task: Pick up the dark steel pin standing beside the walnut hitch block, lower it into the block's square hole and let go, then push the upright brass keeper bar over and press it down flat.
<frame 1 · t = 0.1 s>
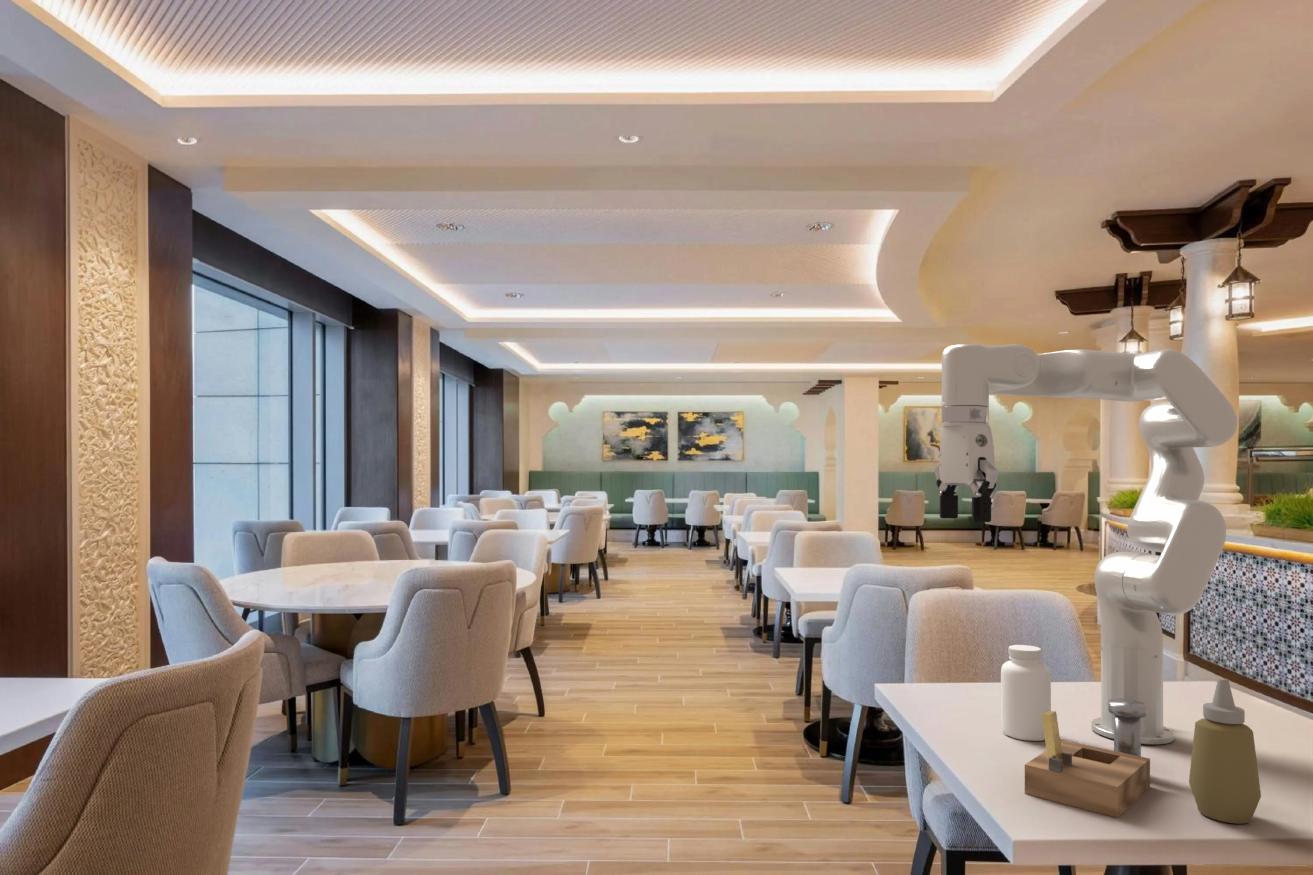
hand: (964, 519, 144), 37 cm above the table, tool pointing down, fingers open, 9 cm apart
squeeze bottle: (1224, 817, 114), on the table
hitch block: (1088, 789, 123), on the table
keeper bar: (1052, 738, 122), point 8 cm above the table, hinge at 98.0°
steel pin: (1127, 772, 131), on the table
pill bottle: (1025, 735, 149), on the table
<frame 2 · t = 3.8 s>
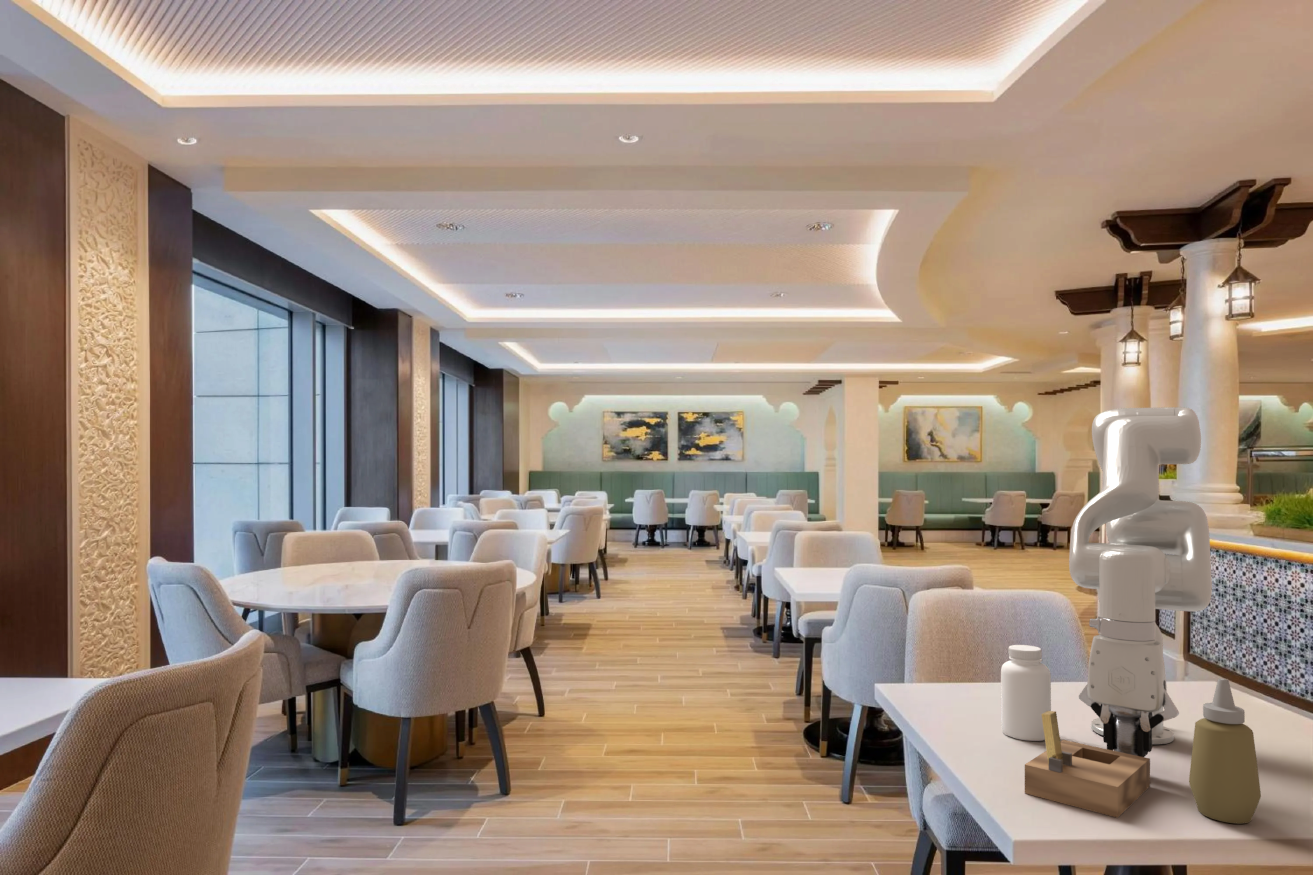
hand: (1127, 750, 131), 3 cm above the table, tool pointing down, fingers closed on steel pin, 3 cm apart
steel pin: (1127, 772, 130), on the table, touching gripper
everything else where it was.
when the fingers open (5 cm above the table, at t = 9.1 s): steel pin drops 2 cm, resting in hitch block.
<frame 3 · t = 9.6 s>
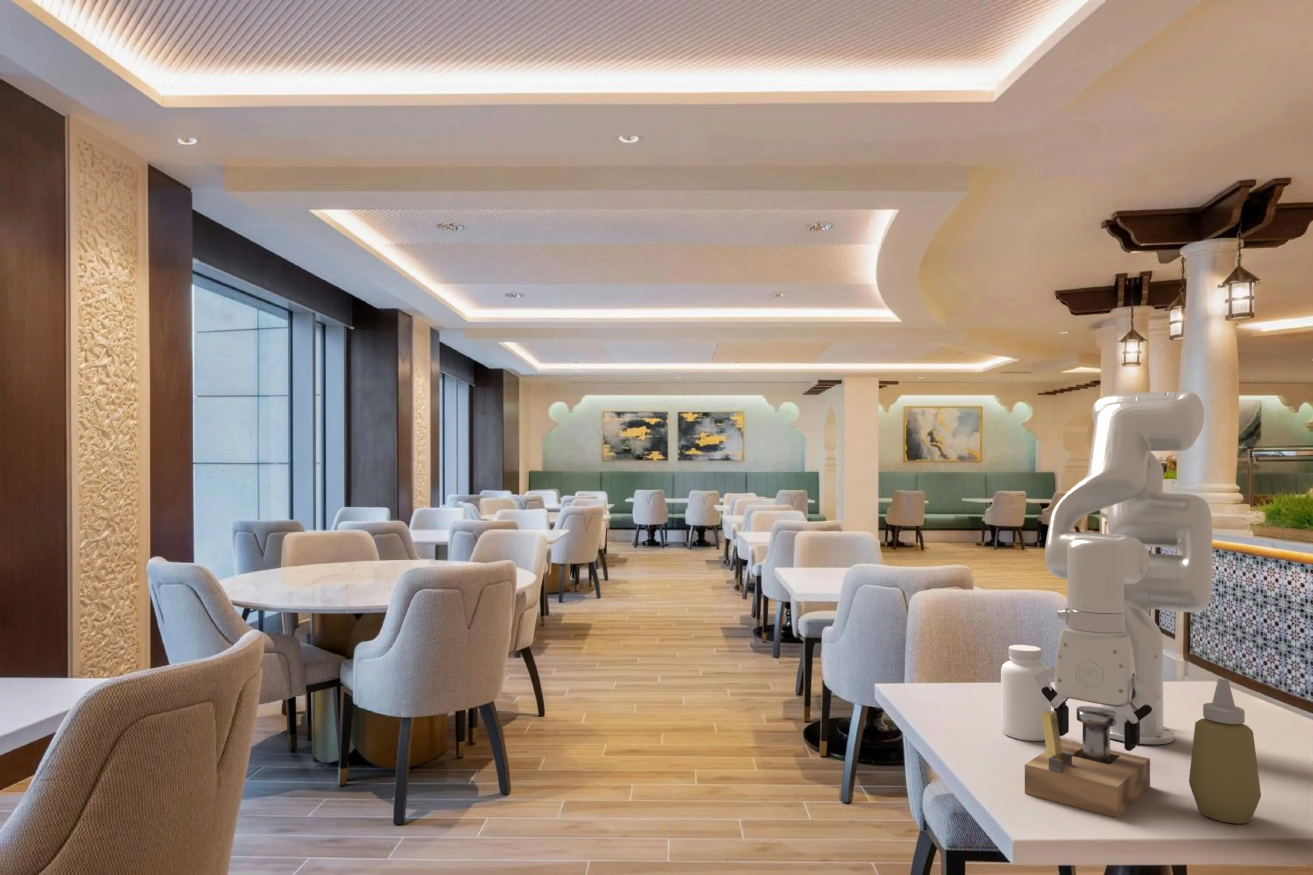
hand: (1095, 740, 126), 6 cm above the table, tool pointing down, fingers open, 8 cm apart
steel pin: (1096, 783, 126), resting in hitch block
everything else where it was.
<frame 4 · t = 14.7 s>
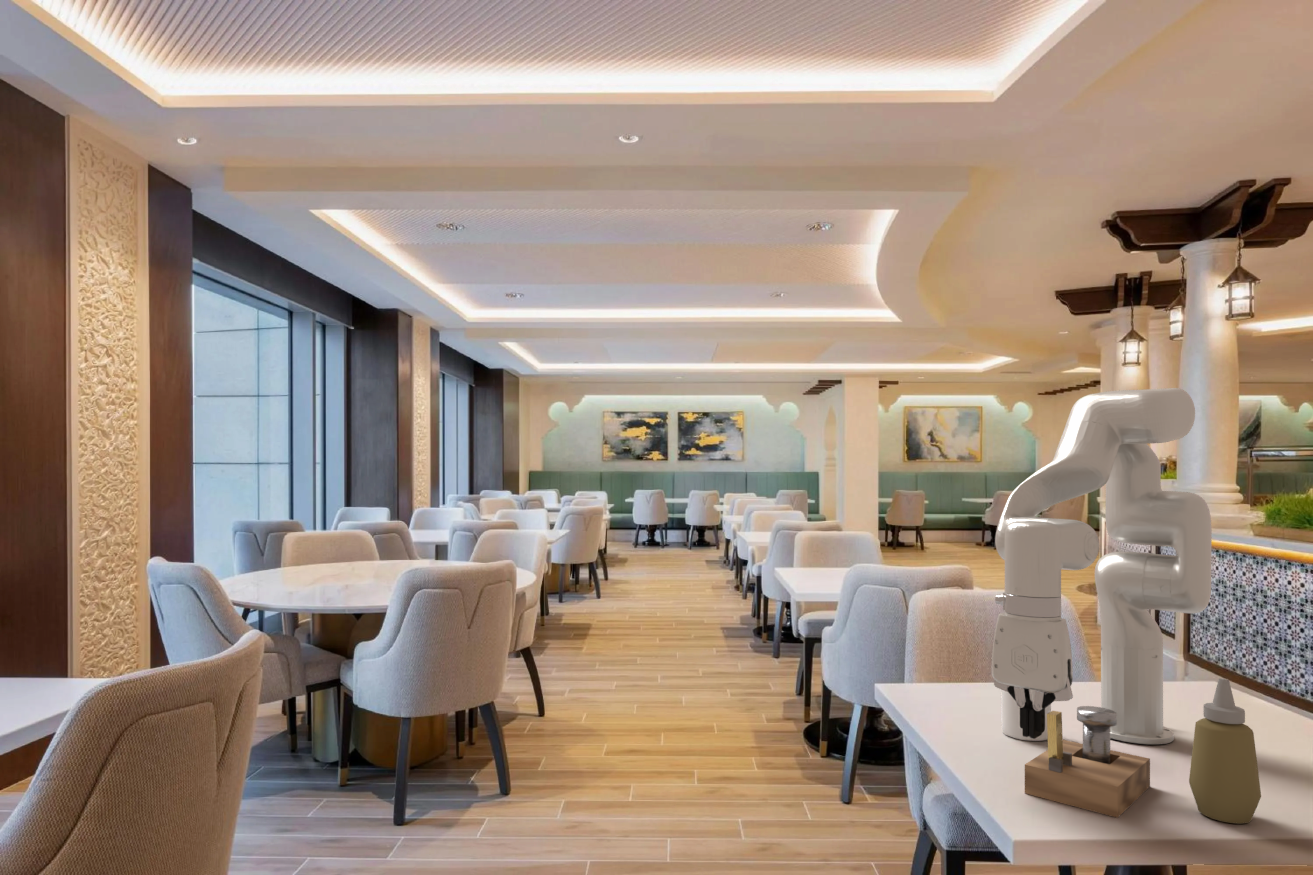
hand: (1032, 735, 123), 8 cm above the table, tool pointing down, fingers closed
keeper bar: (1055, 738, 121), point 8 cm above the table, hinge at 91.8°, touching gripper
everything else where it was.
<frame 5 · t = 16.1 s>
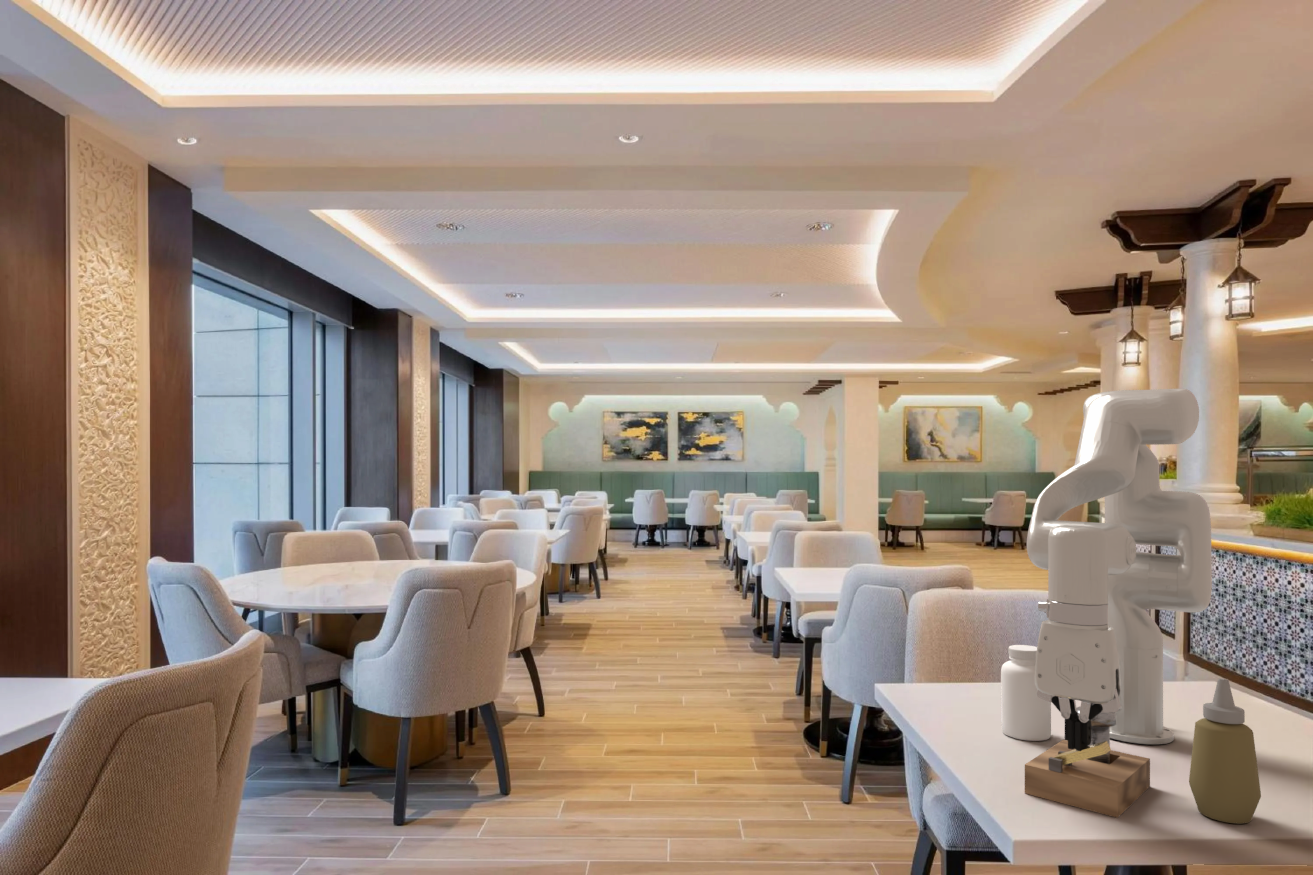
hand: (1077, 747, 119), 7 cm above the table, tool pointing down, fingers closed
keeper bar: (1081, 753, 119), point 7 cm above the table, hinge at 27.3°, touching gripper
everything else where it was.
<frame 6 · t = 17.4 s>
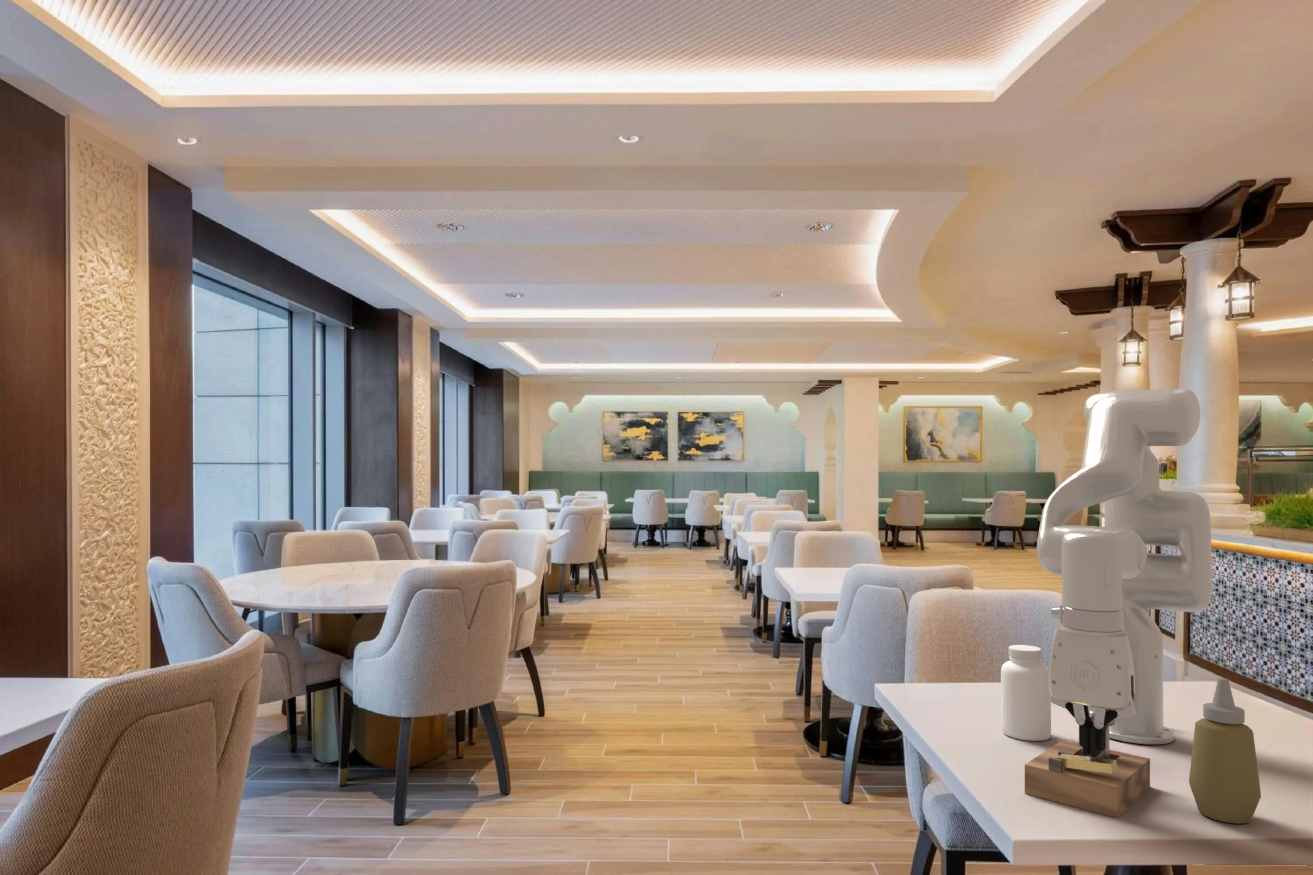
hand: (1092, 753, 119), 7 cm above the table, tool pointing down, fingers closed
keeper bar: (1086, 763, 118), point 5 cm above the table, hinge at 6.5°
everything else where it was.
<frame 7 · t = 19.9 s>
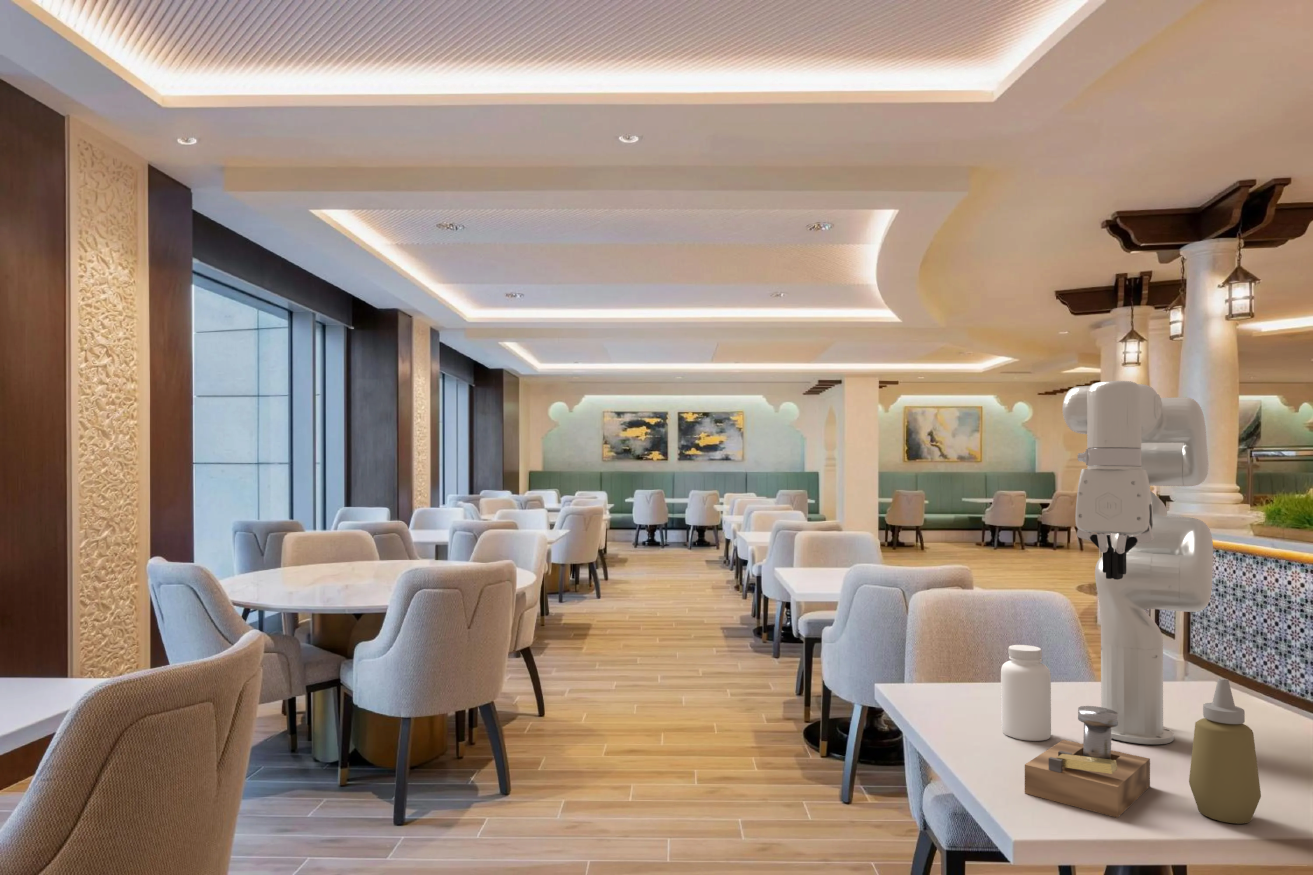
hand: (1114, 578, 134), 29 cm above the table, tool pointing down, fingers closed
keeper bar: (1086, 763, 118), point 5 cm above the table, hinge at 6.2°
everything else where it was.
at the end: steel pin 0.0 cm from the target spot on the hitch block, point 0.1 cm above the hitch block's base; steel pin tilted 3°; keeper bar at +6° (first picture: +98°) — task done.
